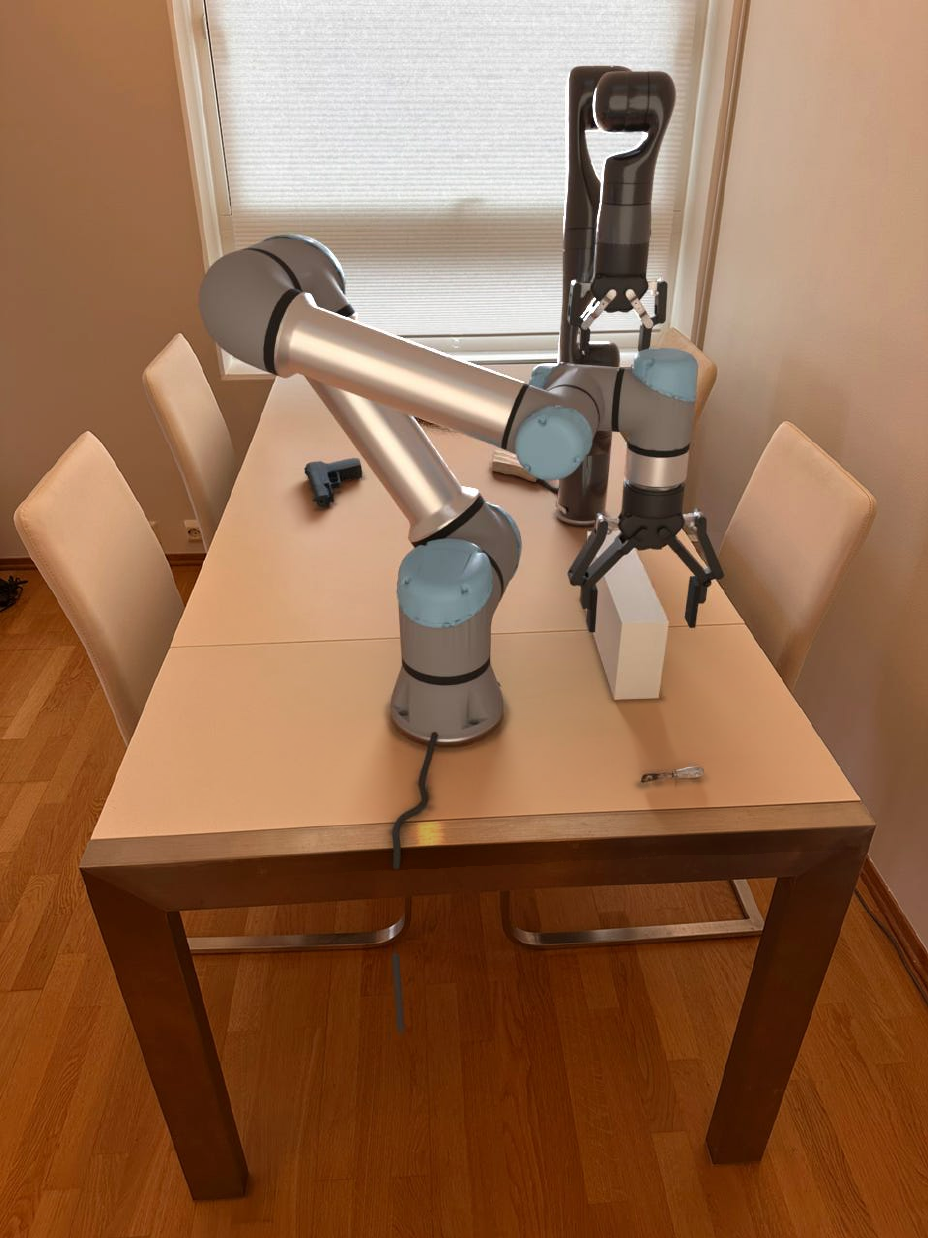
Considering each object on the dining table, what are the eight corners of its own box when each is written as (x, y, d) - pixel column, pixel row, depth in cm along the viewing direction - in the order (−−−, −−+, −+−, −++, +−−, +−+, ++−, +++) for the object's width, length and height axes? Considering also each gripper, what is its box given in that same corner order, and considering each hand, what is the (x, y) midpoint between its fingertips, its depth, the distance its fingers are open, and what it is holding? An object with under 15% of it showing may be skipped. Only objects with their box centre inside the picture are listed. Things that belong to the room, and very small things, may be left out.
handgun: (373, 502, 179) (314, 510, 176) (359, 469, 193) (303, 475, 190) (373, 488, 177) (312, 495, 174) (358, 455, 191) (301, 461, 188)
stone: (554, 462, 195) (554, 451, 194) (536, 482, 186) (537, 471, 185) (499, 454, 200) (499, 444, 198) (479, 474, 190) (479, 463, 189)
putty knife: (703, 777, 109) (705, 767, 109) (642, 788, 108) (644, 777, 107) (700, 772, 110) (702, 762, 109) (639, 782, 109) (640, 771, 108)
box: (658, 698, 123) (669, 621, 117) (614, 699, 123) (622, 623, 117) (619, 598, 146) (626, 530, 140) (582, 599, 146) (587, 531, 139)
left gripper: (744, 464, 114) (722, 606, 125) (550, 471, 113) (545, 614, 124) (764, 487, 107) (739, 635, 118) (558, 495, 106) (552, 644, 118)
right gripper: (666, 232, 129) (654, 345, 138) (568, 233, 129) (562, 346, 137) (679, 240, 123) (666, 359, 131) (576, 242, 122) (570, 360, 131)
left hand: (640, 625), depth 121 cm, fingers open, 13 cm apart
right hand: (613, 352), depth 134 cm, fingers open, 8 cm apart
